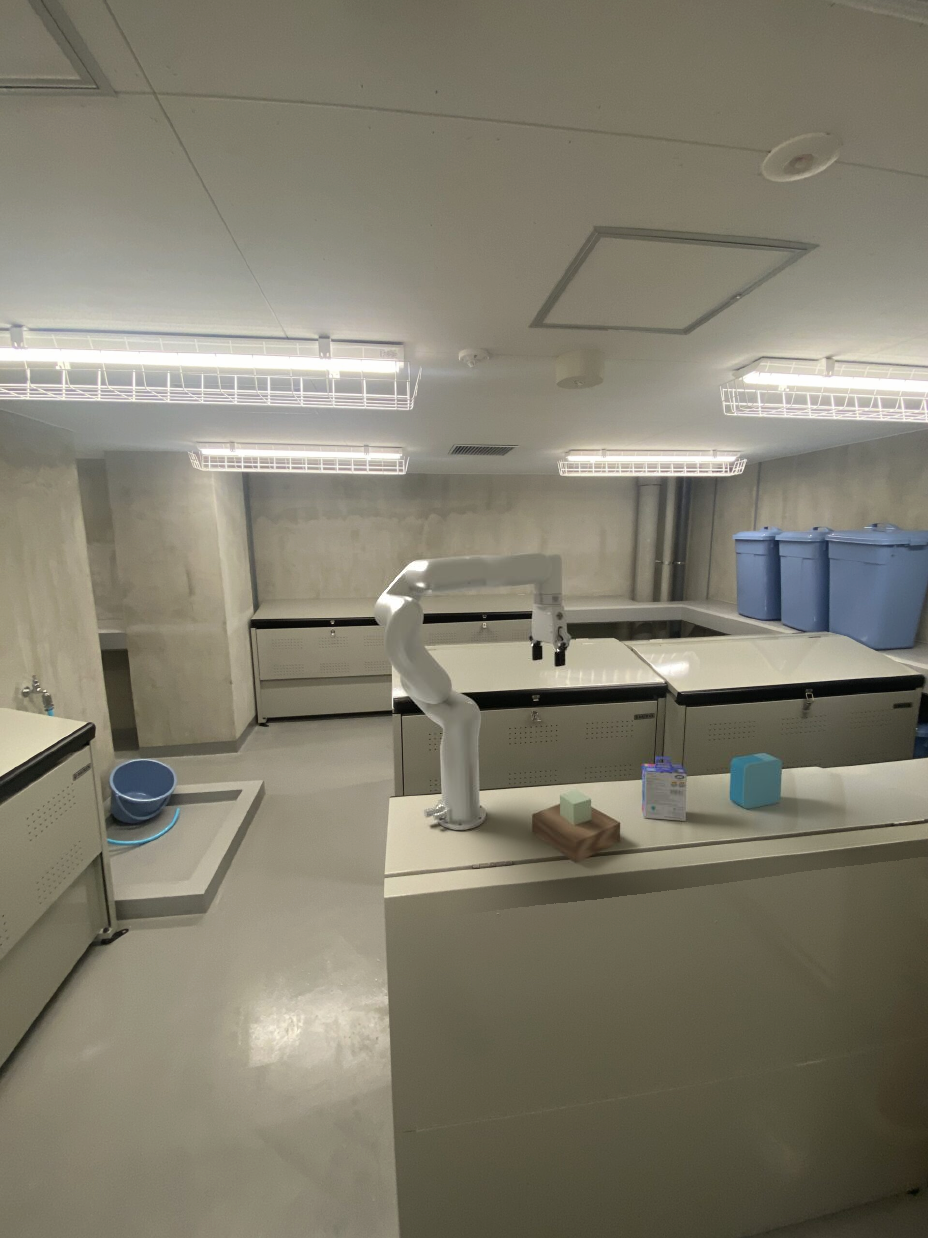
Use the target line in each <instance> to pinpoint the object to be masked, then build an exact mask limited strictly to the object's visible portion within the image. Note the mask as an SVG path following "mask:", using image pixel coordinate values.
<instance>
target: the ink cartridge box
mask: <svg viewBox="0 0 928 1238" xmlns="http://www.w3.org/2000/svg"><path fill="white" fill-rule="evenodd" d="M654 757H655V760H654V761H655V762H654V763H642V764H641V774H642V775H641V785H642V789H641V792H642V793H641V794H642V796H641V812H642V816H643V818H644V819H653V820H654V819H656V820H668V821H669V820H670V821H681V822H682V821H683V822H685V821H686V819H687V817H686V815H687V814H686V813H687V779H688V777H687V775H688V774H687V772H686V770H685V768H684V766H683V765H681V764H672V761H671V760H672V759H671V756H659V755H656V756H654ZM660 760H664V761H667V762H659V761H660Z"/></svg>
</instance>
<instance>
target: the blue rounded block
mask: <svg viewBox="0 0 928 1238" xmlns="http://www.w3.org/2000/svg"><path fill="white" fill-rule="evenodd" d="M782 768H783V762H782V760H781V759H780V758H777V757H775V756H773V755H770V754H767V753H766V752H762V753H756V754H750V755H744V756H737V757H733V758H732V759H731V762H730V771H729V772H730V778H729V799H730V801H731V802H733V803H735V804H737V805H738V806H740V807H742V808H744V809H745V810H748V809H755V808H760V807H764V806H769V805H770V806H771V805H775V804H777V803H779V802H780V800H781V794H782V776H783V775H782V774H783V769H782Z"/></svg>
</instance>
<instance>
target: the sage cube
mask: <svg viewBox="0 0 928 1238" xmlns="http://www.w3.org/2000/svg"><path fill="white" fill-rule="evenodd" d="M559 804H560V815H561V816H562V817H563V818H565V819H566V820H567V821H569V822H570V823H571V824H573V825H576V824H579V823H582V822H585V821H588V820H591V807H592V798H591V797H589V796H587V795H586V794H584V793H583V792H581V791H580V790H579V789H575V790H572V791H568V792H565V793H562V794H560V795H559Z"/></svg>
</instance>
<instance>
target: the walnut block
mask: <svg viewBox="0 0 928 1238" xmlns="http://www.w3.org/2000/svg"><path fill="white" fill-rule="evenodd" d="M531 815H532V817H531V818H532V820H531V821H532V822H531V823H532V833H533V834H534V835H535V836H537V837H538V838H539V839H541V840H543V841H544V842H545V843H547V844H548V845H549V846H551V847H552V848H553V849H555V850H557V851H558V852H559V853H560V854H562V855H563V856H565V857H566V858H568V859H569V860H571V862H573V863H578V862H580V861H582V860H584V859H586V858H589V857H591V856H592V855H595V854H597V853H599V852H600V851H603V850H605V849H607V848H609V846H610V847H612V846H614V845H615V844H618V843H620V842H621V822H620V821H618V820H617V819H614V818H613V817H611V816H610V815H608V814H606V813H604V812H602V811H600V810H599V809H597V808H595V807H593V806H591V820H588V821H585V822H582V823H579V824H576V825H573V824H571V823H570V822H569V821H567V820H566V819H565V818H563V817H562V816H561V815H560V803H558V804H555V805H553V806H549V807H548V808H545V809H542V810H539V811H538V812H534V813H531ZM598 851H599V852H598ZM596 852H597V853H596Z"/></svg>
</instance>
